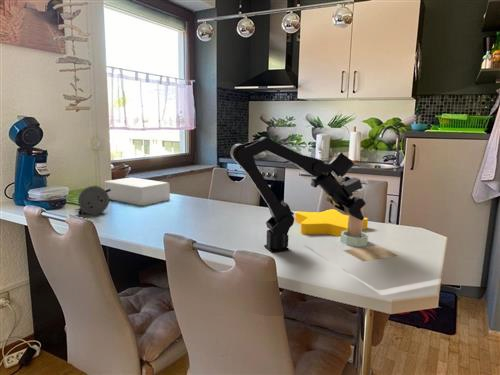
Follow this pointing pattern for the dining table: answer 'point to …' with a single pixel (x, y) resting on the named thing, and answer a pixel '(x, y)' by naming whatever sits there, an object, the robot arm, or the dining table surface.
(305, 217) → the star
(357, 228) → the peach cylinder with balls
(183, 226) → the dining table surface
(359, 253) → the board
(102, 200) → the toy
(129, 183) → the box
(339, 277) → the dining table surface
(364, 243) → the bowl
